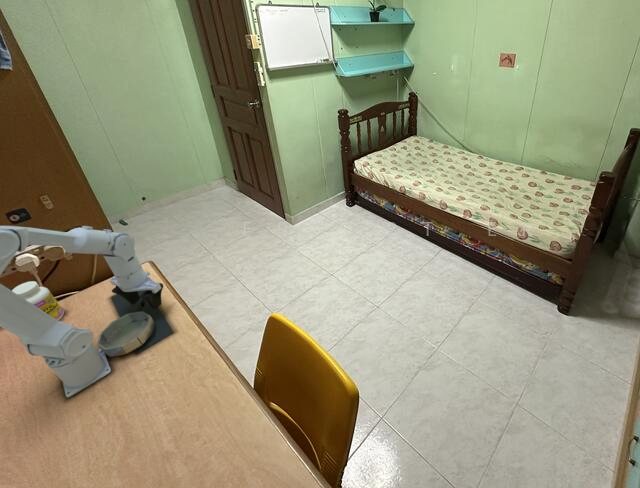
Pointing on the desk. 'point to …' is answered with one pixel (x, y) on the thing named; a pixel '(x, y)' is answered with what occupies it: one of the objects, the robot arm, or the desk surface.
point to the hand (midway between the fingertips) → (146, 304)
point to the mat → (160, 326)
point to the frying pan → (126, 333)
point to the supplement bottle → (40, 298)
